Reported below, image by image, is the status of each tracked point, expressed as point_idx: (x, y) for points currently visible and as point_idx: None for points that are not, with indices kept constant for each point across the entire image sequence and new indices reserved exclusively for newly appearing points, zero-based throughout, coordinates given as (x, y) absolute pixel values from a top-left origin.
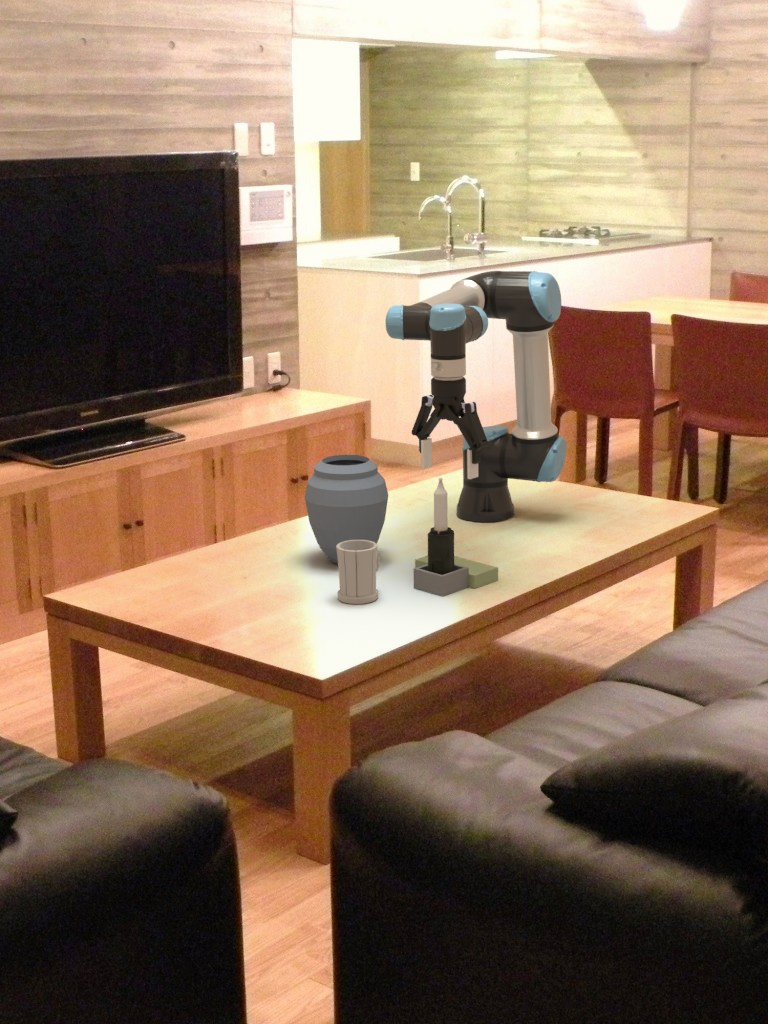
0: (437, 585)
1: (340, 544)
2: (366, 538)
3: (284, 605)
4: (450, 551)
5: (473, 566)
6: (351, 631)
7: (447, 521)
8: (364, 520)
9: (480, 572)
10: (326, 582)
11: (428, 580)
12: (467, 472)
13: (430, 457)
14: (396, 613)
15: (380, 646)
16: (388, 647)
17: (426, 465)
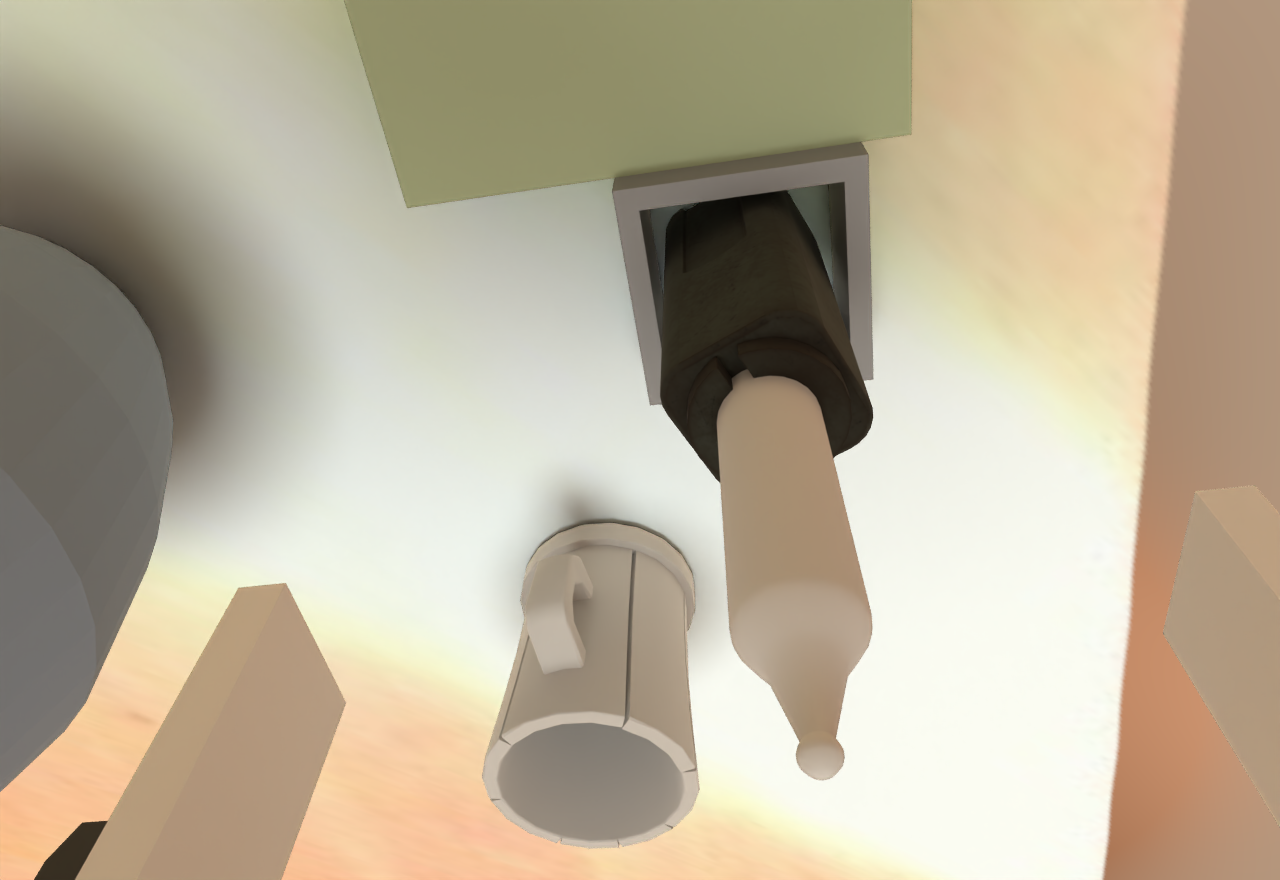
0: None
1: (517, 811)
2: (159, 427)
3: None
4: (848, 338)
5: (766, 2)
6: (885, 756)
7: (819, 426)
8: (134, 535)
9: (895, 57)
10: (346, 564)
11: None
12: (1210, 709)
13: (242, 731)
14: (866, 582)
15: (1065, 767)
16: (1094, 758)
17: (312, 700)
